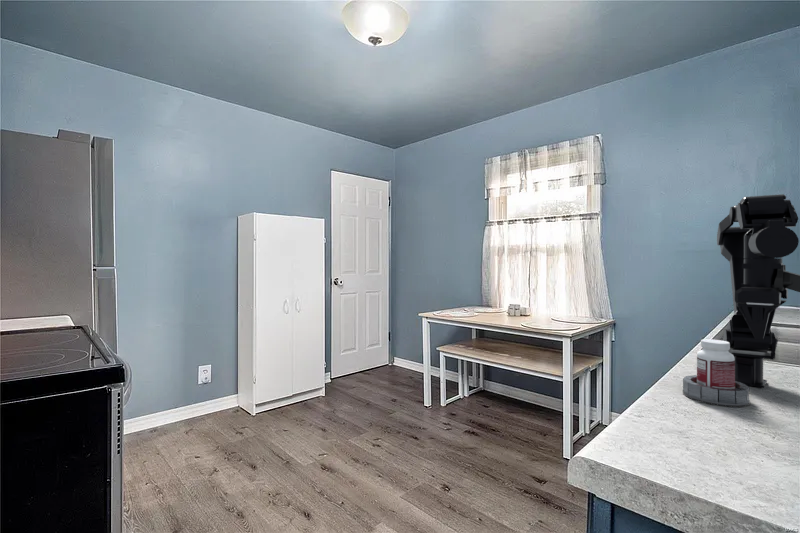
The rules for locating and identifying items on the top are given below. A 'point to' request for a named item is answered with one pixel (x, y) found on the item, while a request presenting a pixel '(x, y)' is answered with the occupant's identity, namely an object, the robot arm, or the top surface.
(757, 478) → the top surface
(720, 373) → the pill bottle
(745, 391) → the ring
